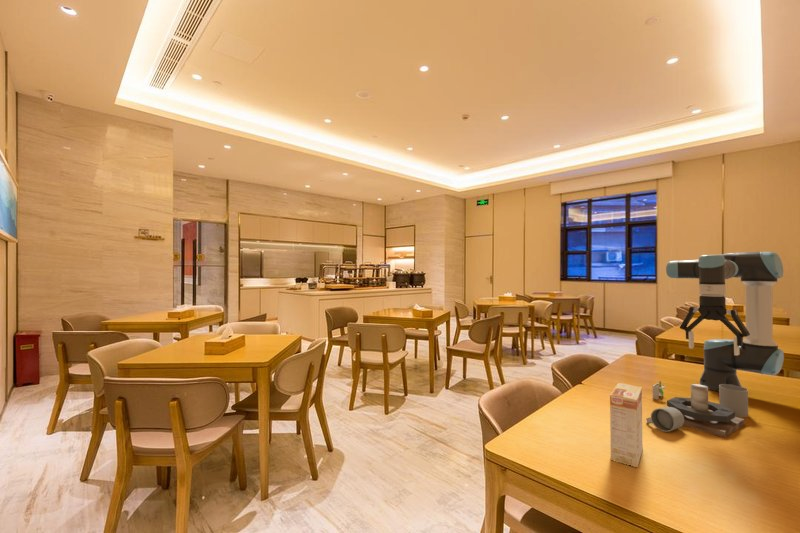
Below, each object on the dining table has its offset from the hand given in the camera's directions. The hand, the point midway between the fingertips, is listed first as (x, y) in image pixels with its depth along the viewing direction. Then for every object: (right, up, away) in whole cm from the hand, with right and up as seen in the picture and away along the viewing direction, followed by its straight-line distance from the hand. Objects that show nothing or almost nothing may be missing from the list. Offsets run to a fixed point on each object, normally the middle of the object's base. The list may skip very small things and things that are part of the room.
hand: (713, 351), depth 136 cm
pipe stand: (-7, -26, -2) cm, 27 cm away
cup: (+13, -26, +6) cm, 30 cm away
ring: (-7, -22, -2) cm, 23 cm away
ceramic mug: (-24, -26, -8) cm, 36 cm away
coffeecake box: (-49, -26, -26) cm, 62 cm away
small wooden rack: (-4, -27, +23) cm, 35 cm away
